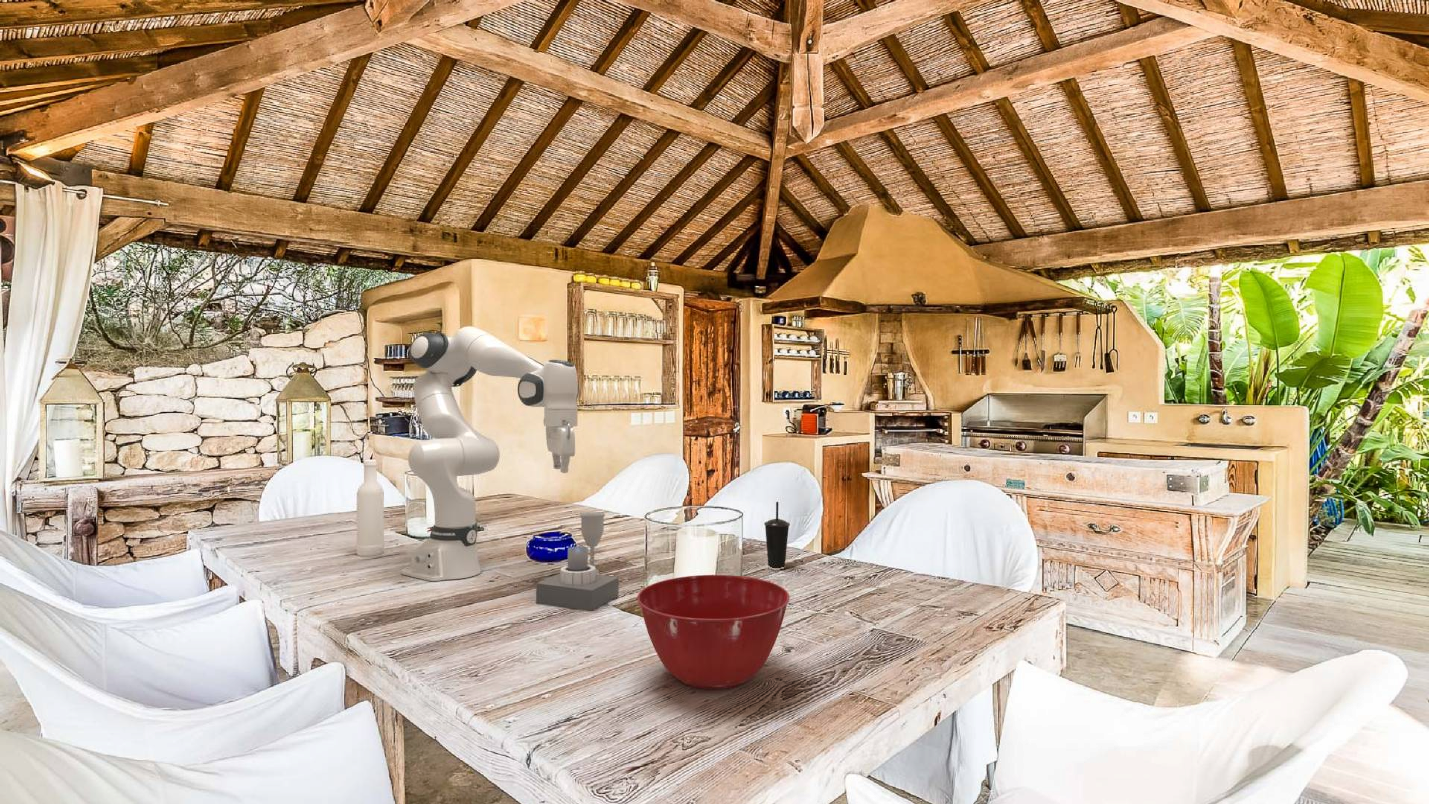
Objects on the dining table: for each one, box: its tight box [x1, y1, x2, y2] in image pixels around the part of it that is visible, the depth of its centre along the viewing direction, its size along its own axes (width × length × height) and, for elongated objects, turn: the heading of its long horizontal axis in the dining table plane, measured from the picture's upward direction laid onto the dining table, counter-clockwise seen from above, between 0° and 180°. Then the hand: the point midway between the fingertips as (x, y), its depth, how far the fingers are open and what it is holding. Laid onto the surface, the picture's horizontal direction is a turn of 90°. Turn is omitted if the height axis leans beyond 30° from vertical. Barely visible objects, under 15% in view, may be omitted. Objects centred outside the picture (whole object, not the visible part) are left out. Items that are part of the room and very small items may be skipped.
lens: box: [567, 546, 589, 572], centre depth 182 cm, size 5×5×8 cm
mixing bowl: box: [637, 574, 791, 690], centre depth 135 cm, size 28×28×16 cm
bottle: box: [356, 459, 385, 557], centre depth 230 cm, size 8×8×30 cm
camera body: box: [535, 564, 620, 612], centre depth 182 cm, size 16×13×8 cm
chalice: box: [578, 511, 606, 575], centre depth 203 cm, size 7×7×18 cm
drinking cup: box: [764, 501, 791, 568], centre depth 216 cm, size 8×8×20 cm
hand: (560, 470), depth 195 cm, fingers open, 8 cm apart
